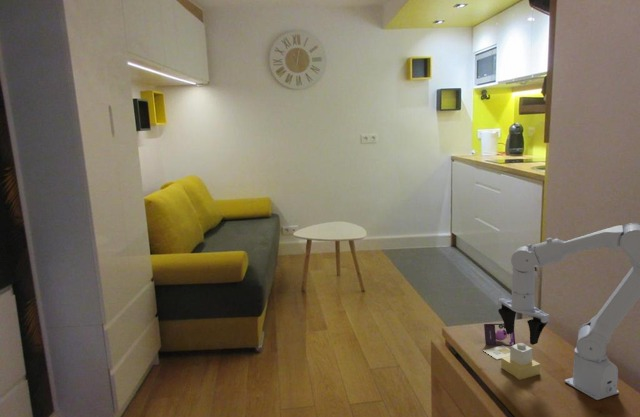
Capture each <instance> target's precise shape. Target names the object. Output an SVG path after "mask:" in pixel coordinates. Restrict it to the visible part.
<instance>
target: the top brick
mask: <svg viewBox="0 0 640 417" xmlns="http://www.w3.org/2000/svg"><path fill="white" fill-rule="evenodd" d="M509 349H510V360H512V361H514V362H516V363H518V364H520V365H522V366H523V365H526V364H528V363H531V362H532V360H533V347H530V346H528V345H527V344H525V343H523V342H518V343H515V345H513V346H509Z"/></svg>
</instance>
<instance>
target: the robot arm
mask: <svg viewBox="0 0 640 417" xmlns="http://www.w3.org/2000/svg"><path fill="white" fill-rule="evenodd" d="M601 247H604V248H607V249H610V250H612V251H613V250H614V251H619V247H620V249H621V250H622V251H623V253H624V254H625V255H626V256H627V257H628V259H629V260H630V263H631V266H632V267H630V269H629V271H627V273H626V275H625V276H623V278H622V280H621V281H620V282H619V284H618V285H617V287H616V288H615V289H614V290H613V292H612V293H611V295H610V296H609V297H608V299H607V300H606V302H605V303H604V304H603V305H602V307H601V308H600V310H599V311H598V313H597V314H596V315H594V316H593V317H592V318H591V319H590V320H589V321H588V322H586V323H583V324H582V325H581V326H579V328H578V330H577V341H576V347H575V348H574V352H573V353H574V354H573V355H574V356H573V371H572V373H573V374H572V377H570V378H566V379H564V383H566V384H568V385H570V386H571V387H573V388H575V389H577V390H578V391H580V392H581V393H584V394H585V395H587V396H588V397H590V398H592V399H594V400H597V401H598V400H602V399H604V398H607V397H611V396H614V395H617V394H619V393H620V391H619V389H618V380H619V369H618V368H619V367H617V365H616V364H615V363H613V362H612V361H610V359H609V357H608V353H607V345H608V344H609V342H610V341H611V340H612V337H613V333H614V332H615V330H616V329H617V327H618V326H619V325H620V323H621V322H622V321H623V319H624V318H625V317H626V315H627V314H628V313H629V312H630V311H631V309H632V308H633V307H634V306H635V304H636V302H638V300H639V299H640V222H639V223H638V222H630V223H629V222H628V223H627V224H625V225H622V224H621V225H615V226H611V227H608V228H603V229H602V230H601V229H600V230H597V231H595V232H591V233H588V234H585V235H582V236H578V237H575V238H574V237H573V238H572V239H569V240H562V239H559V238H552V237H547V238H546V240H545V241H543V242H538V243H536V244H532V243H529V244H527V246H526V245H525V246H519V247H518V248H516V249H515V251H514V252H513V253H512V255H511V260H510V262H511V266H512V274H511V299H508V298H504V297H502V298H499V299H498V307H500V308H499V309H498V314H499V315H500V317H501V319H502V322H503V324H504V325H505V328H506V329H505V331H506V333H507V334H509V335H510V334H511V333H513V332H514V333H515V323H516V322H515V320H516V316H517V313H519V314H523V315H525V316H528V317H531V319H527V325H528V328H529V345H532V346H533V345H537V344H538V343H539V339H540V337H541V333H542V332H543V330H544V328H545V327H546V325H547V324H548V323H549V322H550V314H549V313H546V312H544V311H543V310H541V309H539V308H537V307H536V305H535V300H536V299H535V295H536V292H535V291H536V274H535V270H536V267H541V266H545V265H550V264H554V263H558V262H562V261H565V260H566V259H567V258H568V256H569V254H570V255H571V254H574V253H578V252H583V251H588V250H593V249H598V248H601Z"/></svg>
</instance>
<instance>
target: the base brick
mask: <svg viewBox="0 0 640 417" xmlns="http://www.w3.org/2000/svg"><path fill="white" fill-rule="evenodd" d="M500 360H501V362H500V363H501V366H500V368H501V369H503V370H504V371H506V372H507V373H509V374H510V375H512V376H513V377H515V378H517V379H518V380H519V381H520V380H524V379H527V378H531V377H536V376H538V375H540V374H541V363H539V362H538V361H536V360H535V359H532V362H531V363H528V364H526V365H523V366H522V365H520V364H518V363H516V362H514V361H512V360H510V356H507V357H503V358H501V359H500Z"/></svg>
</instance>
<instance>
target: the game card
mask: <svg viewBox="0 0 640 417" xmlns="http://www.w3.org/2000/svg"><path fill="white" fill-rule="evenodd" d="M496 326H498V329H499V330H496ZM483 328H484V329H483V330H484V340H485V342H484V343H485V346H486V347H499V346H503V345H504V346H506V347H508V346H509V347H510V346H513V345H515V344H516V336H515V331H514V332H513V333H511V334H507V332H506V328H505V325H504V323H484V324H483ZM508 336H510V341H509V343H508V344H506V343H504V344H503V343H502V344H499V343H497V341H499V342H500V341H505V340H506V339H507V338H508Z"/></svg>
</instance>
